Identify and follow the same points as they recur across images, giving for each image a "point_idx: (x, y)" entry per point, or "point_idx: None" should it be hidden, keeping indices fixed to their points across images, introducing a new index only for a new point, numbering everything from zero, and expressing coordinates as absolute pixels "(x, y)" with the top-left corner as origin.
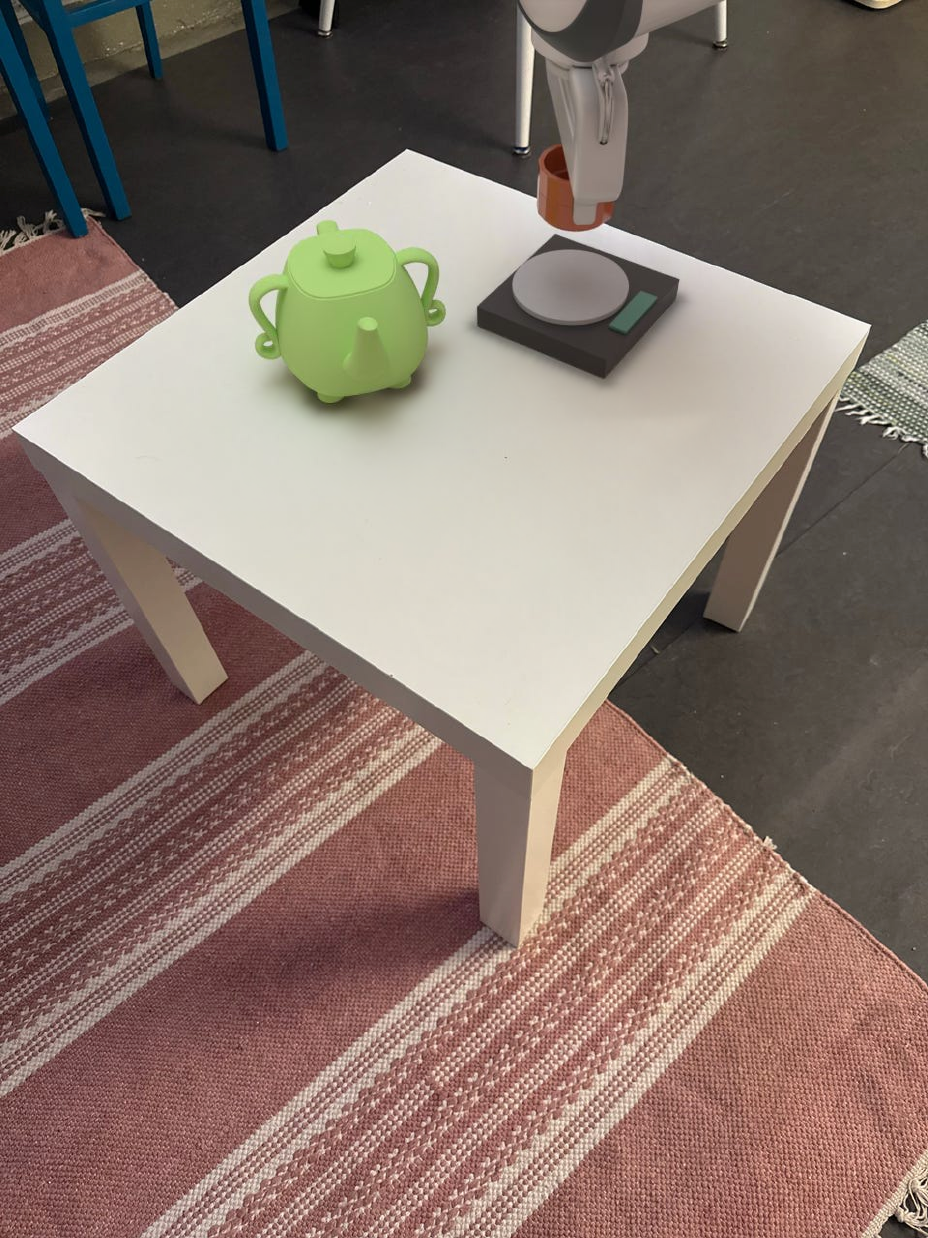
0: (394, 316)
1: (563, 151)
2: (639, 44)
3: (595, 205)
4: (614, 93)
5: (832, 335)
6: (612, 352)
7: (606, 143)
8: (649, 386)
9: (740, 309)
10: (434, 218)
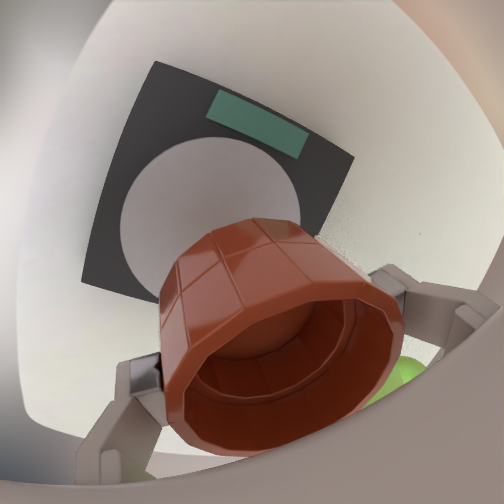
0: (401, 384)
1: (207, 428)
2: None
3: (416, 282)
4: None
5: None
6: (343, 150)
7: (428, 387)
8: (343, 100)
9: None
10: (88, 393)
